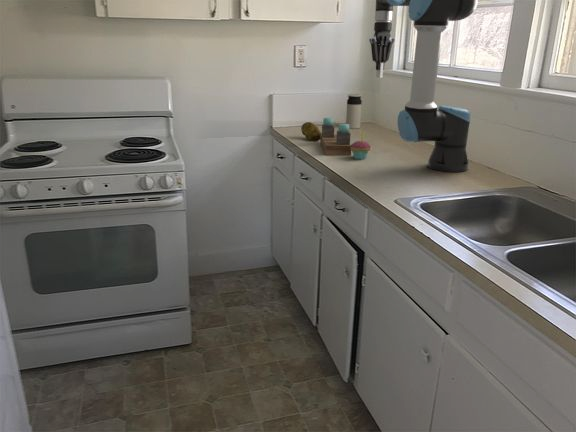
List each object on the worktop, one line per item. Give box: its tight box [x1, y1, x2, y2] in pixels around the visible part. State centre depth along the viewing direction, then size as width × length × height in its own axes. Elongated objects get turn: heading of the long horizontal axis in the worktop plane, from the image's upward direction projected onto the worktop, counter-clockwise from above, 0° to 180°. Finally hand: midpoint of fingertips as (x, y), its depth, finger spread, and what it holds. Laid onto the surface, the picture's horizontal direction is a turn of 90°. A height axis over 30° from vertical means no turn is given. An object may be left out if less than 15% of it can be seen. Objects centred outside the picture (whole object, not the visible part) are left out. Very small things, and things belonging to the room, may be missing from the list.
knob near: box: [337, 123, 350, 133], centre depth 208 cm, size 5×5×8 cm
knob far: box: [322, 117, 334, 126], centre depth 222 cm, size 5×5×8 cm
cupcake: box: [350, 128, 371, 160], centre depth 199 cm, size 9×8×12 cm
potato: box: [300, 121, 322, 142], centre depth 236 cm, size 8×13×8 cm, turn 14°
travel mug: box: [345, 93, 363, 130], centre depth 266 cm, size 8×8×18 cm
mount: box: [319, 124, 352, 156], centre depth 216 cm, size 26×11×9 cm, turn 1°
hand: (379, 77), depth 219 cm, fingers closed
